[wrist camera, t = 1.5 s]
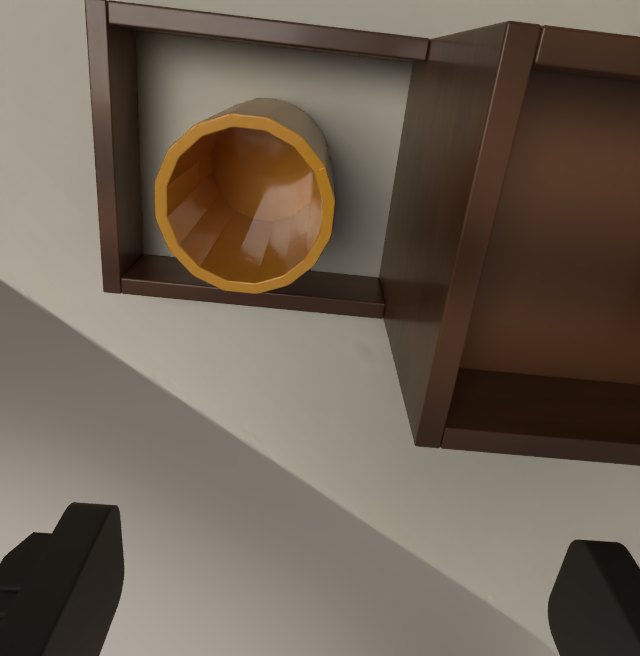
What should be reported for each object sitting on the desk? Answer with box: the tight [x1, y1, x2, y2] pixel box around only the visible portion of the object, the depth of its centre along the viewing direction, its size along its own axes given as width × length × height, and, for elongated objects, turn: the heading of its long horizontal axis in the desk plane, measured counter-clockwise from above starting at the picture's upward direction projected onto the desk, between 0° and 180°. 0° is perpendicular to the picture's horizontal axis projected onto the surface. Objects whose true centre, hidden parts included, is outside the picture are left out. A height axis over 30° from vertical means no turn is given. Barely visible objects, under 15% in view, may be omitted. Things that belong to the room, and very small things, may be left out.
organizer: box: [85, 0, 640, 466], centre depth 21 cm, size 12×23×13 cm, turn 84°
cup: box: [155, 98, 335, 294], centre depth 22 cm, size 6×6×9 cm
